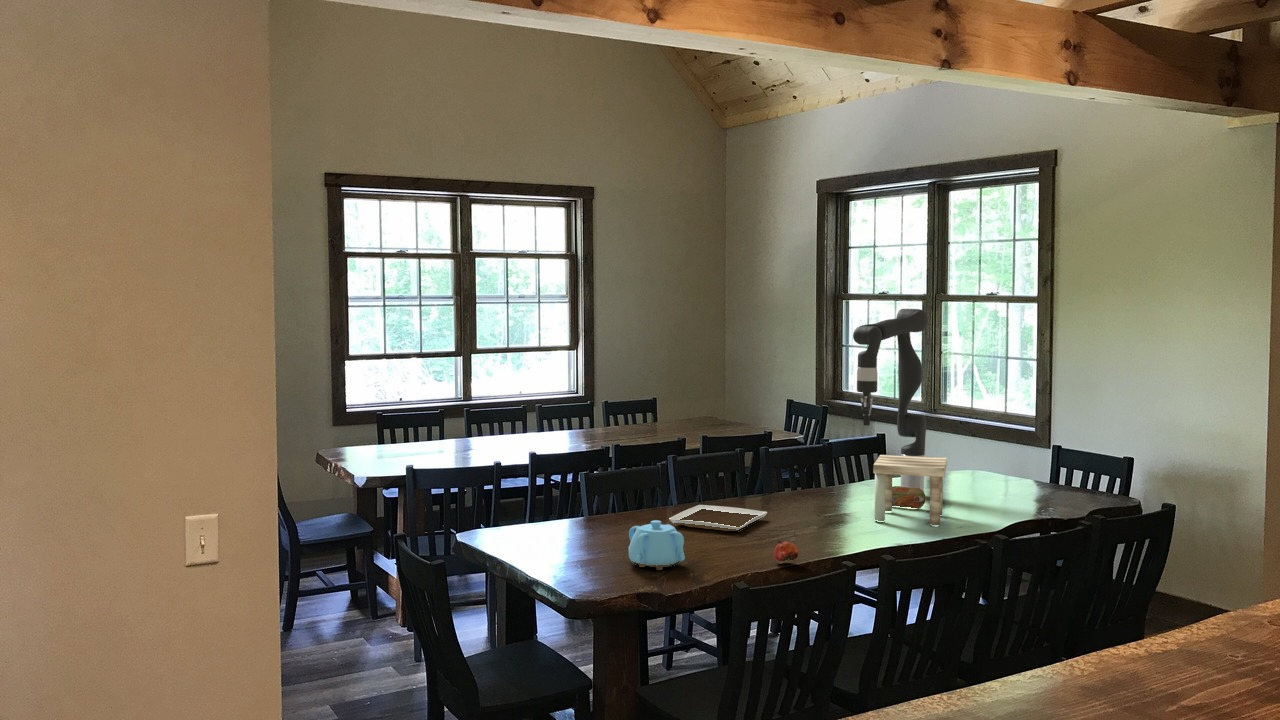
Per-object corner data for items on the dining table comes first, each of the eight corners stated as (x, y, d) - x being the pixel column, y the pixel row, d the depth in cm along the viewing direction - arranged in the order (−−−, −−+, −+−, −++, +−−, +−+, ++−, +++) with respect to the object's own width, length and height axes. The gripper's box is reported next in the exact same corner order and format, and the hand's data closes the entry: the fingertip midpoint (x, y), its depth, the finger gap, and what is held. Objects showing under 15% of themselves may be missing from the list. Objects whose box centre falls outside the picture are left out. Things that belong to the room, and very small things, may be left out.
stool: (879, 510, 387) (880, 454, 386) (945, 514, 380) (946, 457, 378) (872, 523, 364) (873, 464, 363) (943, 528, 357) (944, 468, 355)
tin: (884, 507, 393) (884, 485, 392) (886, 505, 396) (886, 484, 395) (924, 511, 386) (924, 488, 385) (926, 509, 389) (926, 487, 388)
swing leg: (880, 514, 378) (881, 468, 377) (890, 515, 376) (891, 469, 375) (873, 522, 366) (874, 474, 365) (883, 522, 364) (884, 474, 363)
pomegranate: (802, 572, 309) (791, 546, 316) (805, 557, 304) (794, 531, 311) (778, 576, 308) (768, 550, 315) (781, 561, 303) (771, 535, 310)
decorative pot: (630, 573, 301) (630, 527, 300) (627, 559, 317) (626, 515, 316) (686, 572, 302) (686, 526, 301) (679, 558, 318) (679, 514, 317)
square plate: (667, 528, 360) (667, 517, 360) (699, 513, 384) (699, 503, 384) (739, 536, 347) (739, 525, 347) (768, 520, 372) (768, 510, 371)
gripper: (875, 381, 378) (875, 427, 379) (879, 378, 391) (878, 423, 392) (854, 380, 381) (854, 427, 382) (859, 377, 393) (858, 422, 394)
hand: (866, 425), depth 387 cm, fingers closed
